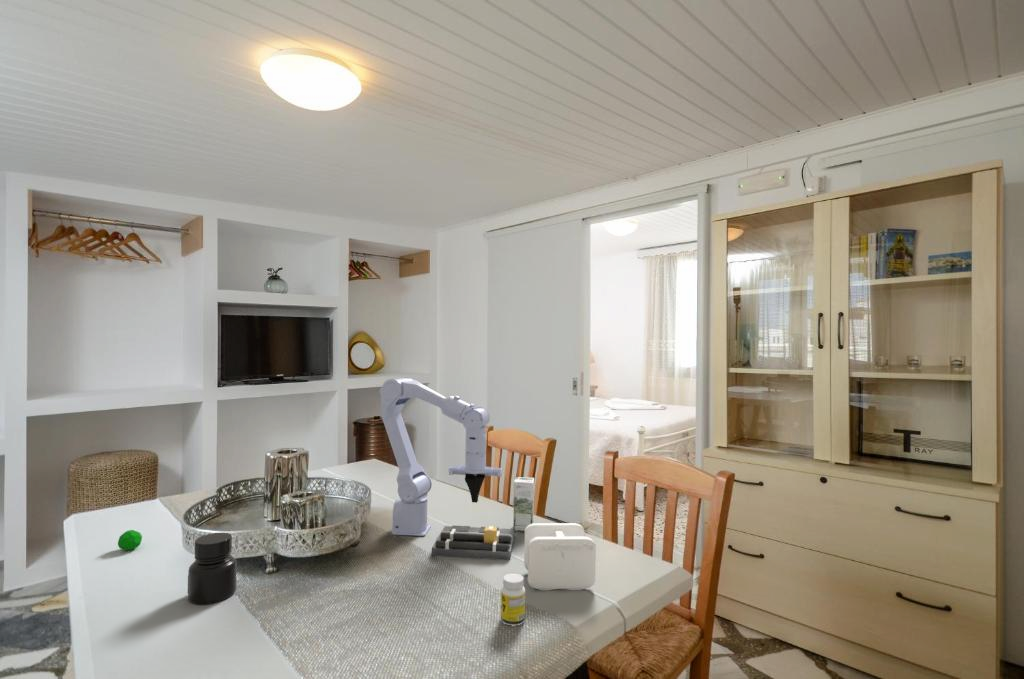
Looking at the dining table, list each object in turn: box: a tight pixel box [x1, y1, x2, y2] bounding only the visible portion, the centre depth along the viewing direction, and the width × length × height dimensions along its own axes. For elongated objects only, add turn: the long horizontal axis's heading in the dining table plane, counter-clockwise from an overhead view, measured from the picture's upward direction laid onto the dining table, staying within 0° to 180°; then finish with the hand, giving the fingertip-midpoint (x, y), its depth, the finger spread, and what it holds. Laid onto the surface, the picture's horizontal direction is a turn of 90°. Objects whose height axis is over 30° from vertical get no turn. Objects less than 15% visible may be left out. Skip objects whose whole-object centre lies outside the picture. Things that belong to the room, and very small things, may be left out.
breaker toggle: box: [484, 525, 497, 543], centre depth 135 cm, size 3×3×4 cm
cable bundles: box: [435, 529, 512, 552], centre depth 136 cm, size 19×10×2 cm, turn 85°
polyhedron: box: [117, 529, 143, 552], centre depth 134 cm, size 5×5×5 cm
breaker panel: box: [431, 525, 516, 561], centre depth 140 cm, size 20×16×3 cm
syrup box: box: [512, 476, 535, 533], centre depth 153 cm, size 6×6×14 cm
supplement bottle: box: [500, 573, 526, 625], centre depth 102 cm, size 5×5×8 cm
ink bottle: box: [187, 532, 238, 605], centre depth 111 cm, size 10×9×12 cm
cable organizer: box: [523, 522, 597, 591], centre depth 120 cm, size 15×11×12 cm
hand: (474, 501), depth 144 cm, fingers closed
